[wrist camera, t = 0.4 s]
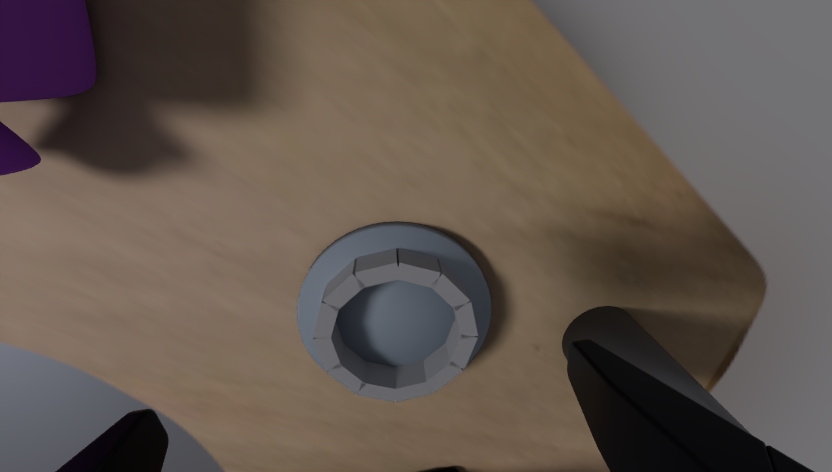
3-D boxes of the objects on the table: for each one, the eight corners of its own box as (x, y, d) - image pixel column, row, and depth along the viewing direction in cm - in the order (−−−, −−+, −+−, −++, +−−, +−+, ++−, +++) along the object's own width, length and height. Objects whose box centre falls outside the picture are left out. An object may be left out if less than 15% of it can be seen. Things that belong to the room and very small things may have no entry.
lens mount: (500, 361, 28) (512, 393, 25) (333, 400, 28) (327, 435, 26) (470, 200, 24) (481, 217, 21) (272, 248, 24) (257, 270, 21)
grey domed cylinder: (638, 360, 29) (795, 538, 18) (564, 377, 29) (674, 564, 18) (636, 297, 27) (812, 451, 16) (557, 315, 27) (676, 482, 16)
